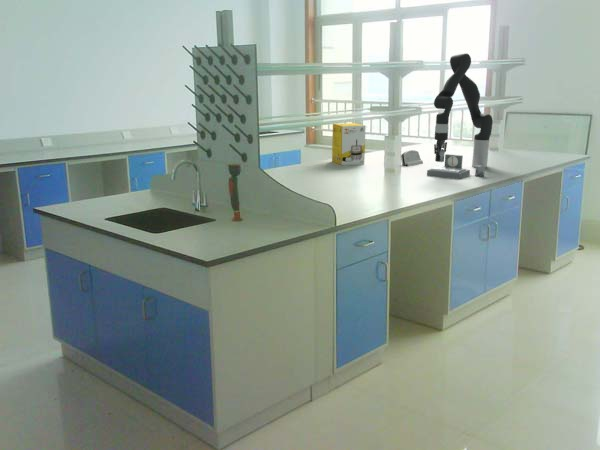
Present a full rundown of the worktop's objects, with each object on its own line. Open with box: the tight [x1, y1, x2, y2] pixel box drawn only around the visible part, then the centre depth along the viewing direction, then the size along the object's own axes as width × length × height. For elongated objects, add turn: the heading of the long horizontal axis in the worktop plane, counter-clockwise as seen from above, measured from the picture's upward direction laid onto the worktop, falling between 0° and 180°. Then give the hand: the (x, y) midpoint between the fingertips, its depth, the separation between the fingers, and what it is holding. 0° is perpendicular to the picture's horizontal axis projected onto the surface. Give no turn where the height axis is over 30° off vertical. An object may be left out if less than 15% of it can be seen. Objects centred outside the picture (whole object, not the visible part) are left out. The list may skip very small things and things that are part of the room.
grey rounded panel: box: [400, 149, 424, 167], centre depth 392 cm, size 17×5×10 cm, turn 134°
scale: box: [426, 153, 471, 180], centre depth 353 cm, size 16×20×11 cm
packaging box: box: [331, 122, 366, 166], centre depth 394 cm, size 16×16×25 cm
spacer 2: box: [474, 165, 486, 178], centre depth 351 cm, size 5×5×6 cm
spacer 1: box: [434, 151, 446, 163], centre depth 353 cm, size 5×5×6 cm
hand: (439, 160), depth 354 cm, fingers closed on spacer 1, 5 cm apart
